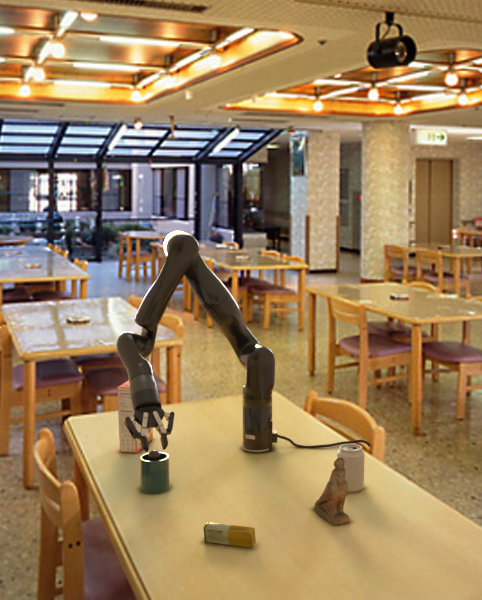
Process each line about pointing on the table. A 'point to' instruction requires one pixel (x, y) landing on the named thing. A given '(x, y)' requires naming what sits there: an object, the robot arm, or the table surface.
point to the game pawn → (154, 455)
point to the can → (353, 466)
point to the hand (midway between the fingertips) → (156, 449)
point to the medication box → (229, 534)
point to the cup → (154, 474)
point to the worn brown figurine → (334, 496)
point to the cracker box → (124, 411)
